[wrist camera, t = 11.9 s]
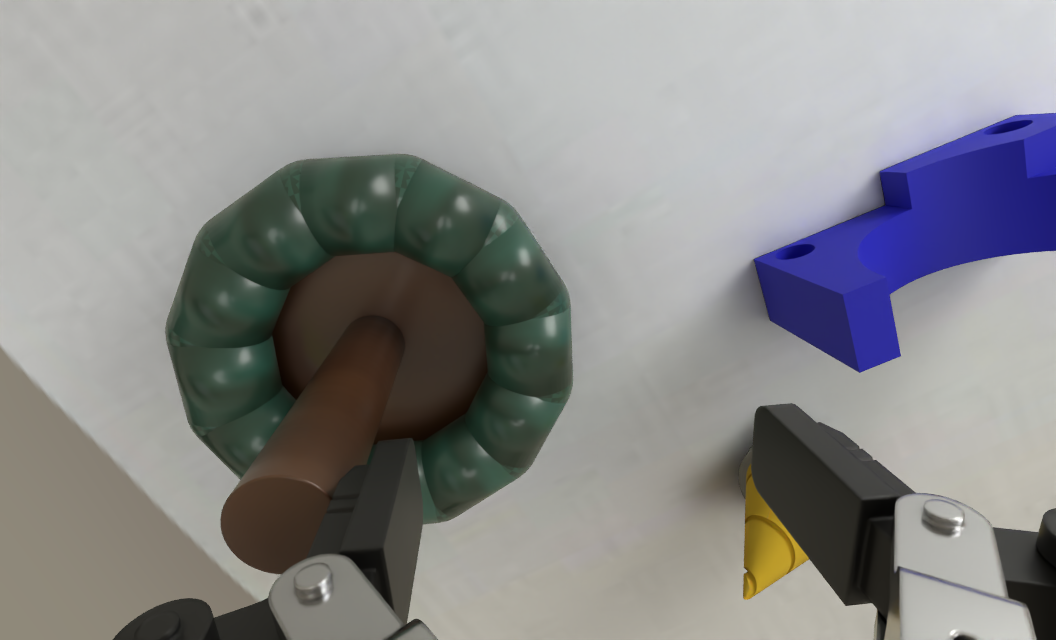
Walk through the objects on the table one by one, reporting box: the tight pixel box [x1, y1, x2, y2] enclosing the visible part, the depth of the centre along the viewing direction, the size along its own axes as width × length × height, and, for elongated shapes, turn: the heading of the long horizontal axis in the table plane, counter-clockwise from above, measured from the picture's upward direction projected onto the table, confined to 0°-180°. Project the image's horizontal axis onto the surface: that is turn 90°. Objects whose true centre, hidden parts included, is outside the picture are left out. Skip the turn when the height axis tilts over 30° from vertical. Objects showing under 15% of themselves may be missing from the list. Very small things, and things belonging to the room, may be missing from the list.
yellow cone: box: [738, 447, 809, 600], centre depth 24 cm, size 5×5×10 cm
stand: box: [221, 252, 488, 574], centre depth 17 cm, size 9×9×12 cm
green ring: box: [165, 154, 573, 524], centre depth 20 cm, size 14×14×3 cm
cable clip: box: [754, 113, 1056, 373], centre depth 21 cm, size 12×4×6 cm, turn 112°
